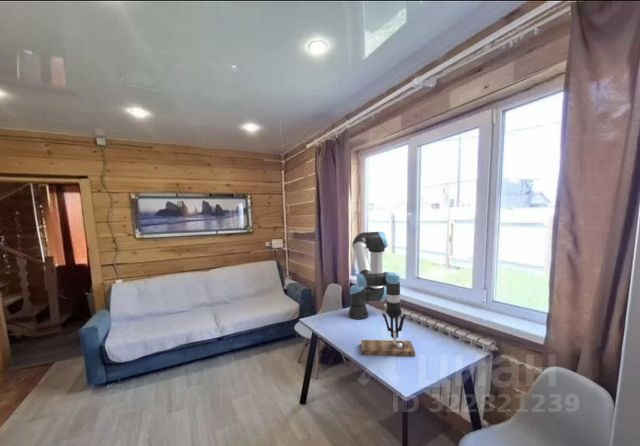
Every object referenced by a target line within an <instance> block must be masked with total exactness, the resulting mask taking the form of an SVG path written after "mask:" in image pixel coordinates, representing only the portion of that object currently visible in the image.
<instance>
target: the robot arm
mask: <svg viewBox="0 0 640 446" xmlns="http://www.w3.org/2000/svg"><path fill="white" fill-rule="evenodd" d="M351 245H352V250H353V252H354V253H355V258H356V264H357V268H358V274H357V275H356V284H353V285H351V286H350V288H349V299H350V300H349V302H350V304H349V305H350V306H349V309H348V317H349V318H350V319H353V320H364V319H367V318H369V314H370V313H369V311H368V308H367V303H372V302H374V303H375V302H377V303H379V302H384V301H385V300H386V309H385V312H382V313H381V316H382V317H383V318H384V321H385V324H386V328H387V331H388V332H390V337H391V338H392V339H393V340H392V341H393V343H394V344H397V341H398V340H397V339H398V338H399V332H402V331H403V326H404V321H405V318H406V316H407V314H406V312H403V311H402V308H401V307H402V306H401V304H402V303H401V278H400V273H398V272H389V271H384V272H383V253H384V252H385V249H387V248H388V239H387V236H386V233H385V232H383V231H365V232H360V233H358V234H357V235H356V236H355V237H354V239H353V241H352V244H351ZM367 249H368V252H369V253H370V255H369V256H370V258H369V256H368V253H367ZM369 259H370V261H369ZM387 316H388V317H389V320H390V323H389V322H388V318H387ZM399 317H400V319H399ZM399 320H400V321H399ZM389 324H390V325H389ZM394 324H395V325H394Z"/></svg>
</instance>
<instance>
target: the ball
mask: <svg viewBox="0 0 640 446" xmlns="http://www.w3.org/2000/svg"><path fill="white" fill-rule="evenodd" d="M396 347H397V348H403V345H402V344H401V343H397V344H396Z"/></svg>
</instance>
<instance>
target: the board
mask: <svg viewBox="0 0 640 446" xmlns="http://www.w3.org/2000/svg"><path fill="white" fill-rule="evenodd" d="M396 341H397V343H401V344H402V345H403V348H397V347H396V344H394V343H393V340H387V339H386V340H383V339H382V340H380V339H379V340H378V339H377V340H376V339H375V340H374V339H361V342H360V343H361V344H360V345H361V355H362V356H363V355H364V356H392V357H393V356H394V357H395V356H396V357H398V356H399V357H402V356H403V357H416V351H415V348H414V345H413V344H412V341H411V340H396Z"/></svg>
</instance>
